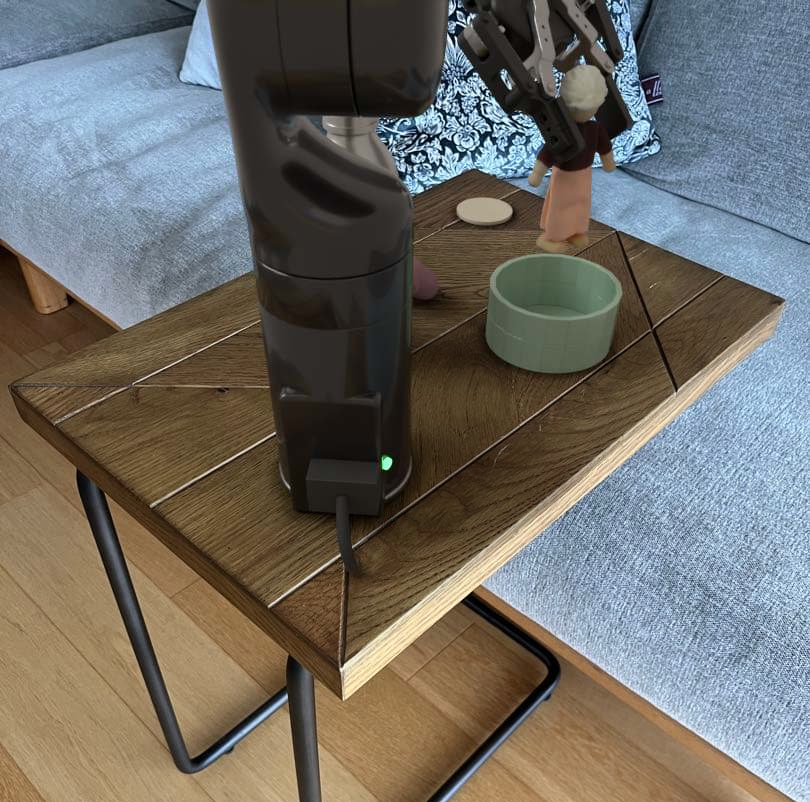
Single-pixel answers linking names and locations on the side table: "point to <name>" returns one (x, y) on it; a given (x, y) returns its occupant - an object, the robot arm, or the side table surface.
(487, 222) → the coaster
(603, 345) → the bowl
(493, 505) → the side table surface
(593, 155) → the grandmother figurine
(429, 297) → the video game controller
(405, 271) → the robot arm
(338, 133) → the metal water bottle
